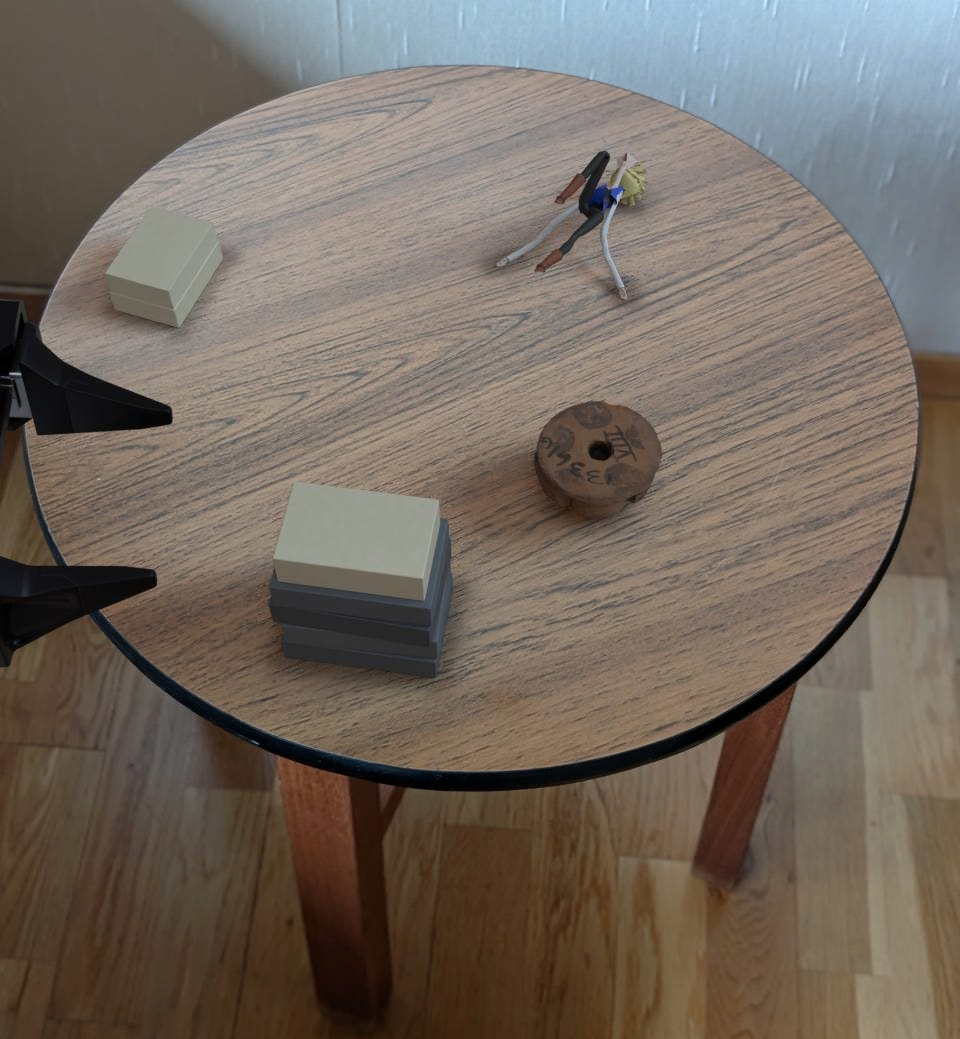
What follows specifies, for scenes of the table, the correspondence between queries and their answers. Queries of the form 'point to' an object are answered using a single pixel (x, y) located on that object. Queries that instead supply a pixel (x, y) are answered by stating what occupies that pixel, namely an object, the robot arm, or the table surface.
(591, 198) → the figurine
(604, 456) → the artifact
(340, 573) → the cream block
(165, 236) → the sage lidded box
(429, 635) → the grey stack
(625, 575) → the table surface
